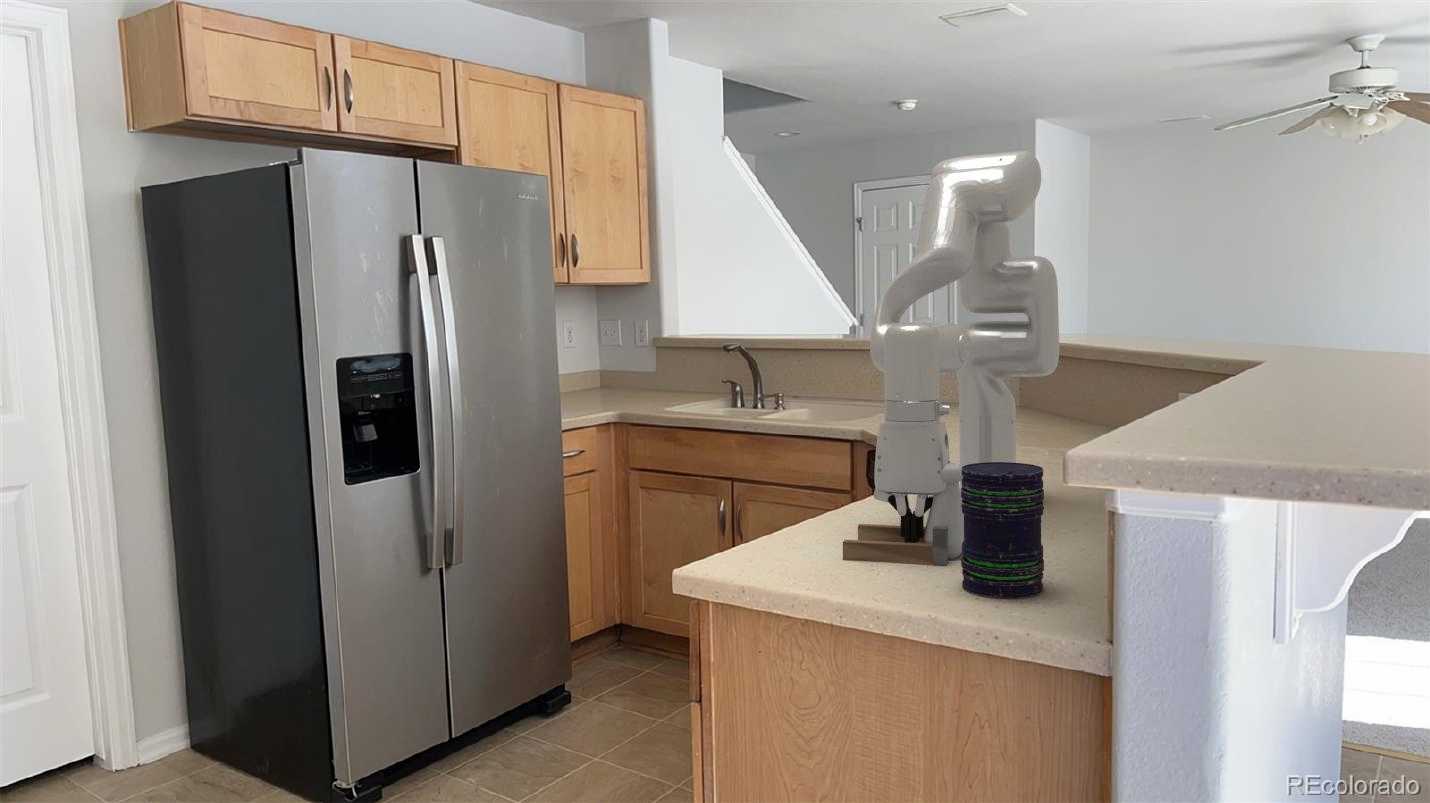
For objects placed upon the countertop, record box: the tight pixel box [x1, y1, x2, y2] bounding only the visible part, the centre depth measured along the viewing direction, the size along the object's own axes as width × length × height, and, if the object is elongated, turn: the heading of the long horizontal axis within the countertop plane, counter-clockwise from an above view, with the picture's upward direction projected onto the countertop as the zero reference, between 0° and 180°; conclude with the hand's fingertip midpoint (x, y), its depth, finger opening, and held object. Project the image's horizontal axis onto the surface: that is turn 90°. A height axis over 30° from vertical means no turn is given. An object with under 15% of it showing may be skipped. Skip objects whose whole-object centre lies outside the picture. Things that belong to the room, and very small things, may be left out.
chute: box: [842, 523, 949, 567], centre depth 143 cm, size 12×14×5 cm
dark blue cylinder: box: [960, 462, 1045, 600], centre depth 124 cm, size 10×10×15 cm
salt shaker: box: [924, 461, 964, 560], centre depth 140 cm, size 6×6×13 cm
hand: (912, 542), depth 142 cm, fingers closed
